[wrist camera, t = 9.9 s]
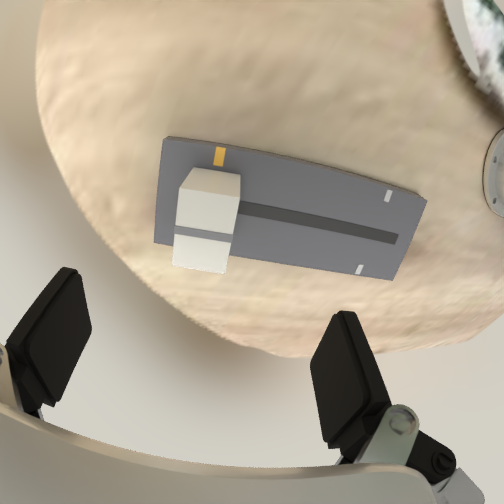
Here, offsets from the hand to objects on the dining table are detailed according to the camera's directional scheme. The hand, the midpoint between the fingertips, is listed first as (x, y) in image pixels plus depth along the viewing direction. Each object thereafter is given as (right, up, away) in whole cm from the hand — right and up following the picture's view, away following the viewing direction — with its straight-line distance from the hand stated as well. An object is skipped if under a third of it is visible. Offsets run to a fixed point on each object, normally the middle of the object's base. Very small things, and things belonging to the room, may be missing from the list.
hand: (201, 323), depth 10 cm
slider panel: (+6, +7, +18) cm, 20 cm away
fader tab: (-2, +7, +15) cm, 17 cm away
